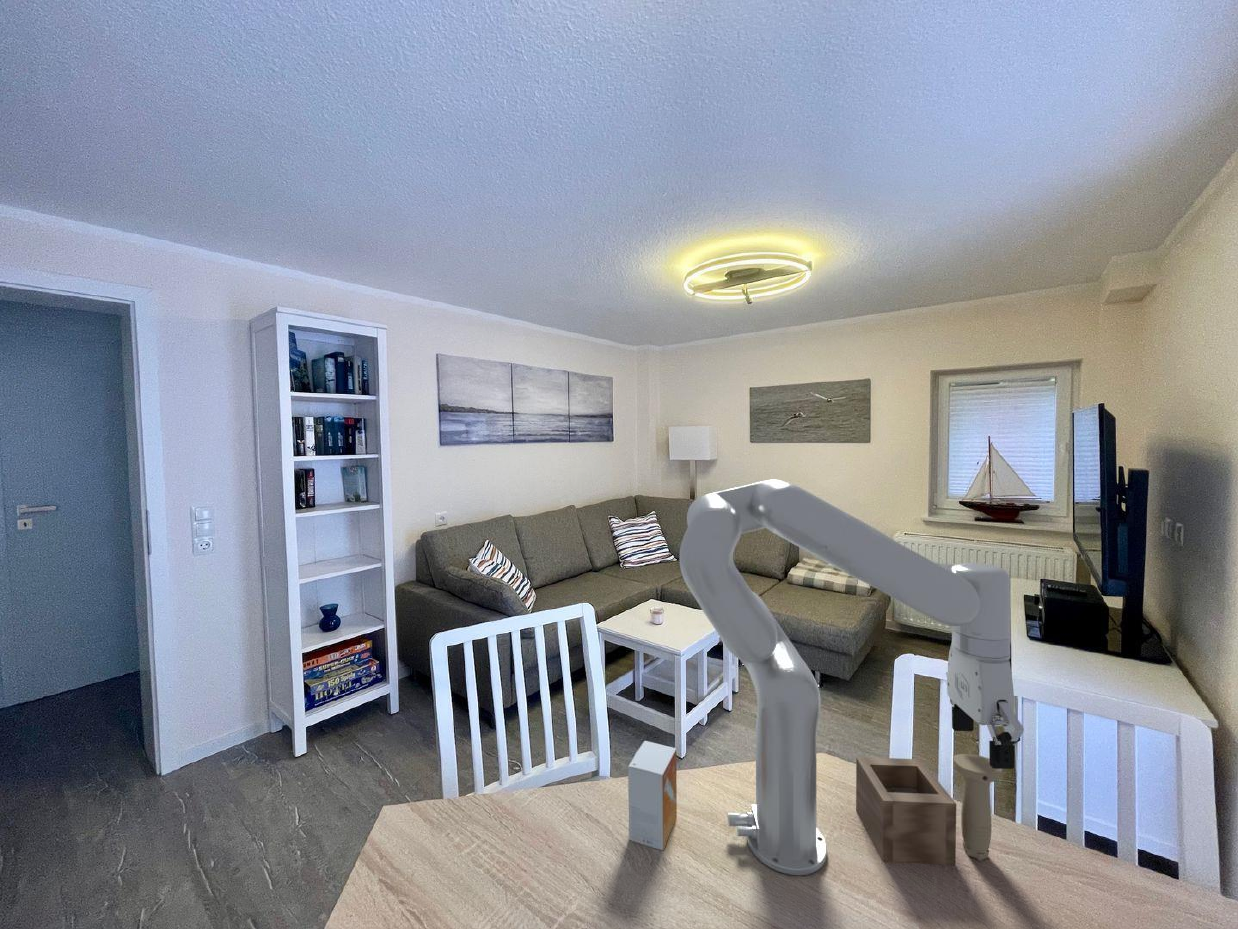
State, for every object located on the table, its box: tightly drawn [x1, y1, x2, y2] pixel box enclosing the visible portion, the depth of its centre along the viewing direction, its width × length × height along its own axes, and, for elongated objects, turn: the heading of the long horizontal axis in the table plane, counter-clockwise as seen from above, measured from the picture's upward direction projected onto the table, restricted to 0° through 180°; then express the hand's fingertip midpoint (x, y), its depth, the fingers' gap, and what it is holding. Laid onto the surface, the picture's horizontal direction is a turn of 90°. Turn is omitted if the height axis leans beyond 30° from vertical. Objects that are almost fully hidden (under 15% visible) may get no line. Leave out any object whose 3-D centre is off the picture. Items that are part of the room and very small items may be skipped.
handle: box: [952, 753, 1003, 861], centre depth 81 cm, size 5×6×15 cm
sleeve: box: [855, 756, 957, 866], centre depth 85 cm, size 11×11×10 cm
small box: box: [627, 740, 678, 851], centre depth 87 cm, size 8×6×13 cm
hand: (981, 747), depth 80 cm, fingers open, 9 cm apart
